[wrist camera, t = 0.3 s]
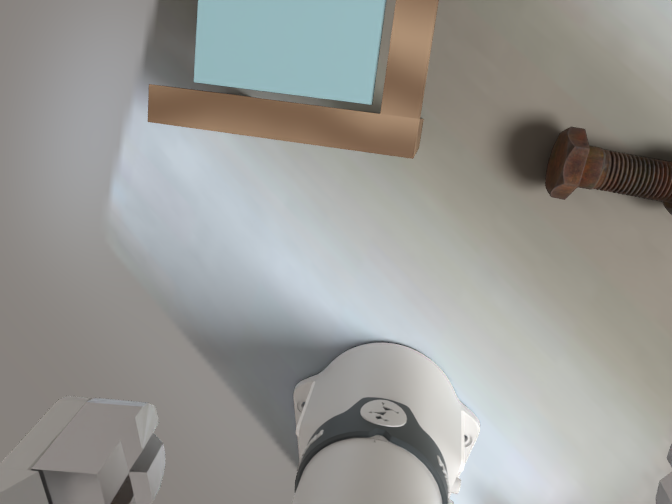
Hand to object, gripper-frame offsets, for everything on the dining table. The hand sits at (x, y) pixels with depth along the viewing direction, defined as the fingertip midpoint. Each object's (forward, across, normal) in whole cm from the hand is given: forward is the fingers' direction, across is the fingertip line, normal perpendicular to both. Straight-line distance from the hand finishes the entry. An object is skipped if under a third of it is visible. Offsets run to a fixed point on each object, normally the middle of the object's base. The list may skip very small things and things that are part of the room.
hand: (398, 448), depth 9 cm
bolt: (+41, +20, -7) cm, 46 cm away
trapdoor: (+31, -7, +8) cm, 33 cm away
